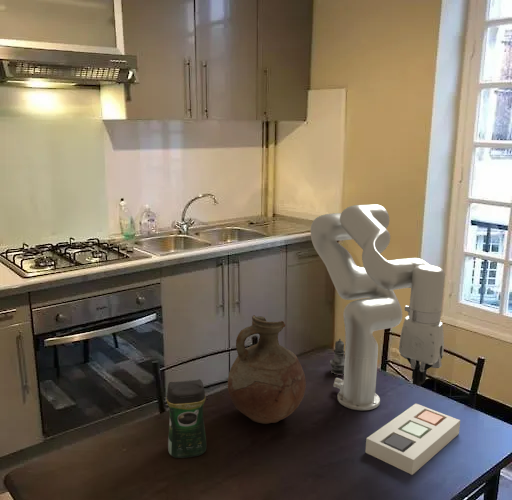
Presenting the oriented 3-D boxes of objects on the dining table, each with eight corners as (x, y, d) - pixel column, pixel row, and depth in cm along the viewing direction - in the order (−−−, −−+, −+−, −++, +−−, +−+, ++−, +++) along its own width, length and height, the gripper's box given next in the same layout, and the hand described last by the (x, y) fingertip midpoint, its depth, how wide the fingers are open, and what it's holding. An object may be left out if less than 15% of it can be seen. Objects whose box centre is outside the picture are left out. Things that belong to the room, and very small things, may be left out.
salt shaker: (346, 376, 182) (348, 342, 179) (328, 374, 183) (330, 340, 180) (347, 369, 188) (349, 336, 185) (330, 367, 189) (331, 334, 186)
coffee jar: (204, 439, 144) (203, 373, 140) (208, 457, 137) (207, 388, 133) (166, 443, 142) (165, 376, 138) (168, 461, 135) (167, 391, 131)
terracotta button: (416, 425, 150) (417, 417, 149) (425, 418, 153) (426, 410, 153) (433, 432, 146) (434, 423, 146) (442, 425, 150) (443, 417, 149)
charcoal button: (383, 450, 138) (384, 441, 137) (393, 442, 141) (394, 433, 141) (401, 459, 134) (402, 449, 134) (411, 450, 138) (412, 441, 137)
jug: (320, 422, 154) (324, 319, 147) (258, 447, 141) (260, 337, 134) (271, 392, 170) (273, 299, 164) (212, 412, 158) (212, 312, 151)
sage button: (400, 437, 144) (401, 428, 143) (410, 430, 147) (410, 421, 147) (418, 445, 140) (419, 436, 140) (427, 437, 144) (428, 428, 143)
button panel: (365, 452, 140) (366, 438, 139) (414, 416, 158) (415, 403, 157) (412, 474, 131) (413, 459, 130) (458, 433, 149) (460, 420, 148)
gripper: (390, 311, 139) (384, 378, 143) (446, 326, 129) (439, 398, 133) (404, 304, 144) (399, 369, 148) (460, 319, 134) (453, 388, 138)
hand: (418, 383), depth 141 cm, fingers closed
